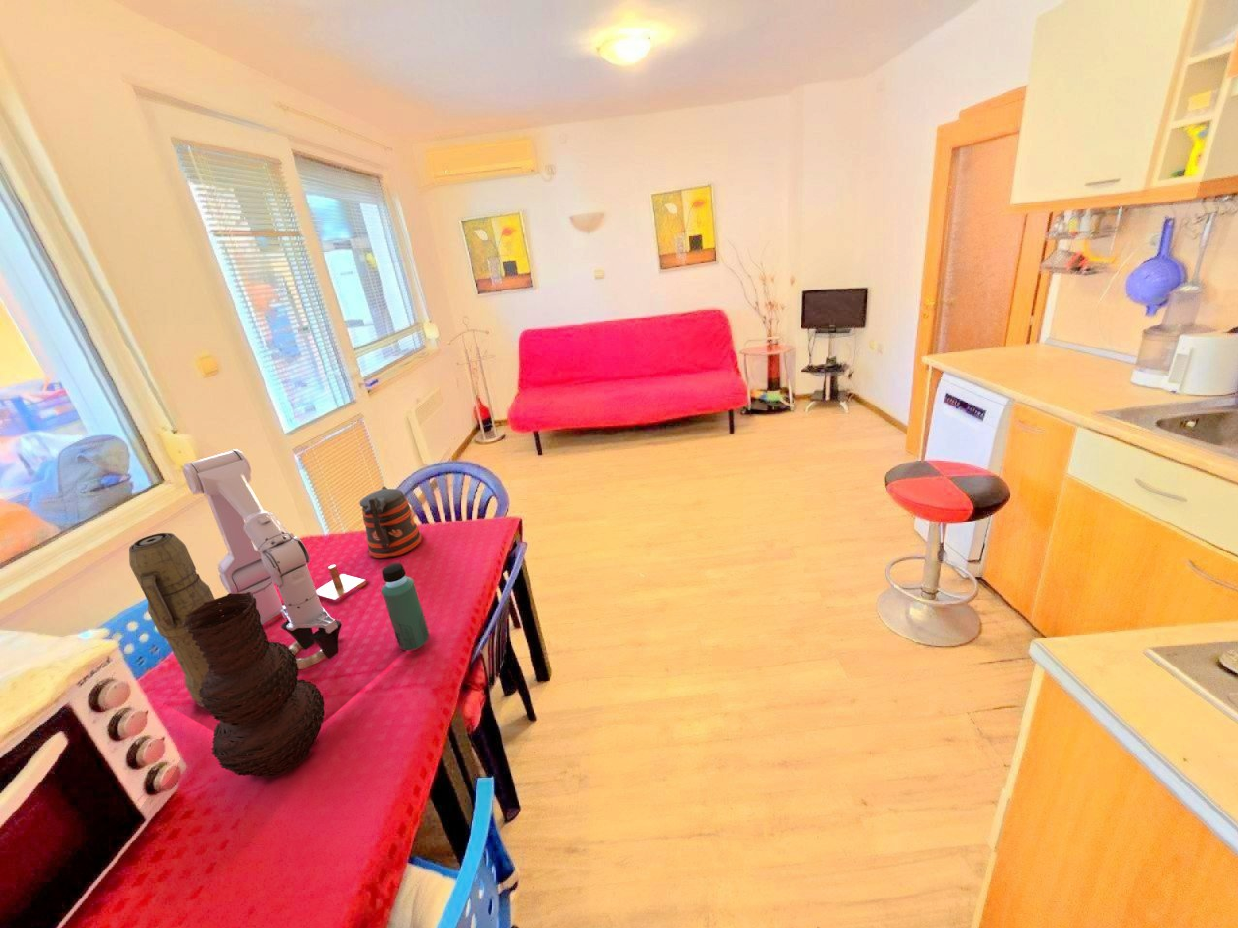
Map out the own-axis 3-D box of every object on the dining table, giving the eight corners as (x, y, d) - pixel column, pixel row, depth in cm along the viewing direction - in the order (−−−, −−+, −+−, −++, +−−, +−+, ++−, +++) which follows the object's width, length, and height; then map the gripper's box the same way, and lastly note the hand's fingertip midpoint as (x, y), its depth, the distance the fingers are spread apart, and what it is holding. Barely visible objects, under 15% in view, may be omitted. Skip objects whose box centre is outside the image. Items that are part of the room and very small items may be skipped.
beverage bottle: (438, 639, 109) (417, 560, 102) (415, 660, 104) (390, 579, 96) (416, 632, 112) (393, 555, 105) (392, 653, 106) (367, 573, 99)
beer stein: (420, 559, 141) (403, 495, 134) (364, 572, 138) (343, 507, 130) (422, 529, 158) (407, 471, 151) (372, 540, 154) (354, 480, 147)
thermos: (258, 666, 106) (193, 519, 93) (245, 706, 96) (170, 547, 83) (208, 681, 103) (133, 531, 90) (188, 725, 93) (101, 563, 80)
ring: (273, 665, 106) (269, 656, 105) (318, 634, 115) (315, 625, 114) (304, 679, 102) (301, 669, 101) (349, 644, 110) (346, 636, 109)
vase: (324, 781, 80) (259, 628, 69) (213, 814, 76) (126, 658, 65) (344, 707, 94) (293, 570, 83) (251, 732, 90) (185, 592, 79)
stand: (312, 596, 129) (304, 572, 126) (343, 577, 136) (336, 554, 134) (336, 603, 125) (327, 579, 122) (366, 583, 132) (359, 560, 130)
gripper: (258, 601, 100) (280, 655, 105) (304, 616, 94) (326, 673, 99) (292, 581, 106) (312, 633, 111) (338, 594, 100) (357, 649, 105)
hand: (320, 650), depth 105 cm, fingers open, 7 cm apart
